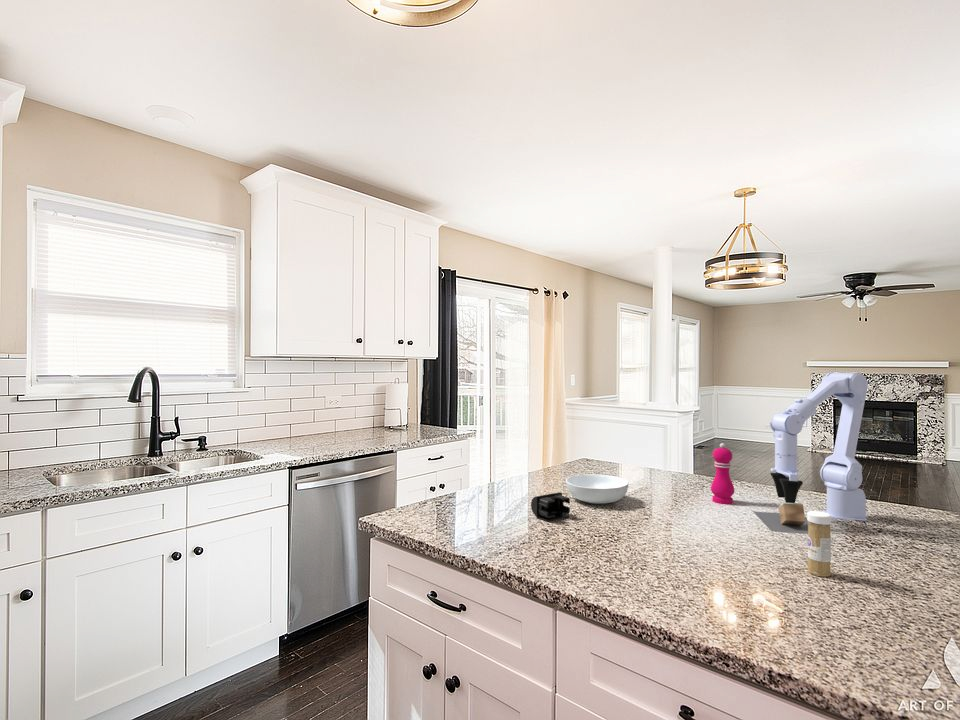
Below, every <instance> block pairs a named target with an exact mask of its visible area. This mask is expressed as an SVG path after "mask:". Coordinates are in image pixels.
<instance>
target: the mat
mask: <svg viewBox="0 0 960 720" xmlns="http://www.w3.org/2000/svg"><path fill="white" fill-rule="evenodd" d="M752 512H753V513H754V514H755V516H757V518H758V519H759V520H760V521H761V522H762V523H763V524H764V525H765V526H766V527H767V528H768V529H769V530H770V531H771V532H776V533H777V532H778V533H787V534H788V533H790V534H791V533H792V534H803V535H805V534H806V535H808V520H807V516H805V520H806V522H805V523H803V524H802V525H801V526H798V525H784V524H781V520H780V513H779V512H767V511H752Z"/></svg>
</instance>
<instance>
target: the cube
mask: <svg viewBox="0 0 960 720" xmlns="http://www.w3.org/2000/svg"><path fill="white" fill-rule="evenodd" d="M778 513H780V520H781V524H784V525H798V526H801V525H802V524H803V523H805V522H806V520H805V517H806V514H805V508H804V504H803V503H801V502H800V503H797V502H795V503H786V502H785V501H784V502H782V503H781V504H779V506H778Z"/></svg>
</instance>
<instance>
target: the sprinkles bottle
mask: <svg viewBox="0 0 960 720" xmlns="http://www.w3.org/2000/svg"><path fill="white" fill-rule="evenodd" d="M806 518H807V520H808V534H807V567H806V570H807V572H808V573H809V574H811V575H813V576H817V577H822V578H823V577H830V576H831V575H832V572H831V561H832V559H831V557H832V555H831V554H832V552H831V551H832V545H831V544H832V538H831V532H832V531H831V526H832V525H831V524H832V518H831V515H830V514H828V513H825V512H822V511H818V510H810V511H809V510H808V512H807V513H806Z"/></svg>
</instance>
